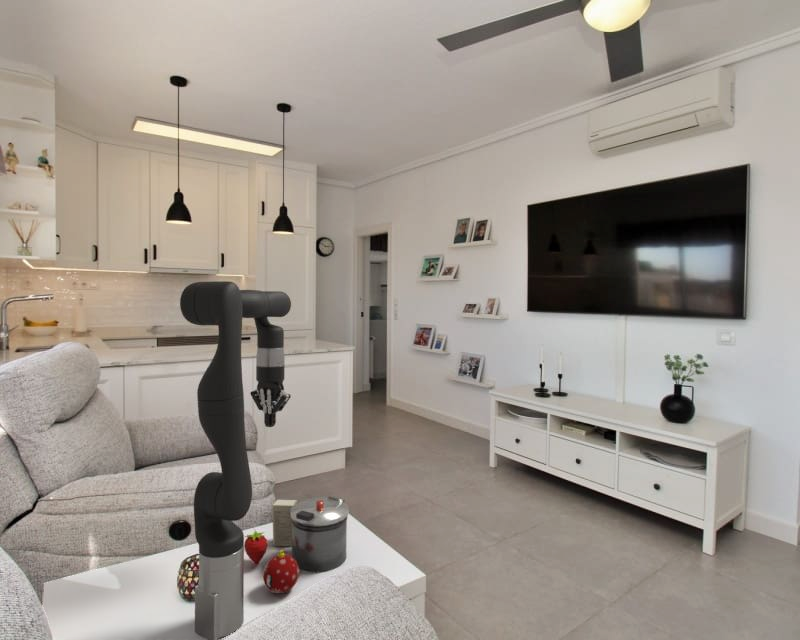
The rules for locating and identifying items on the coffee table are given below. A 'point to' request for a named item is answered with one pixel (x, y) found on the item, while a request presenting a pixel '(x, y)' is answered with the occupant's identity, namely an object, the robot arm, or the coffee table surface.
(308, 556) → the cooker pot
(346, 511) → the cooker lid
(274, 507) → the skincare box
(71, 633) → the coffee table surface
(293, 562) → the christmas ornament
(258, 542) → the strawberry
